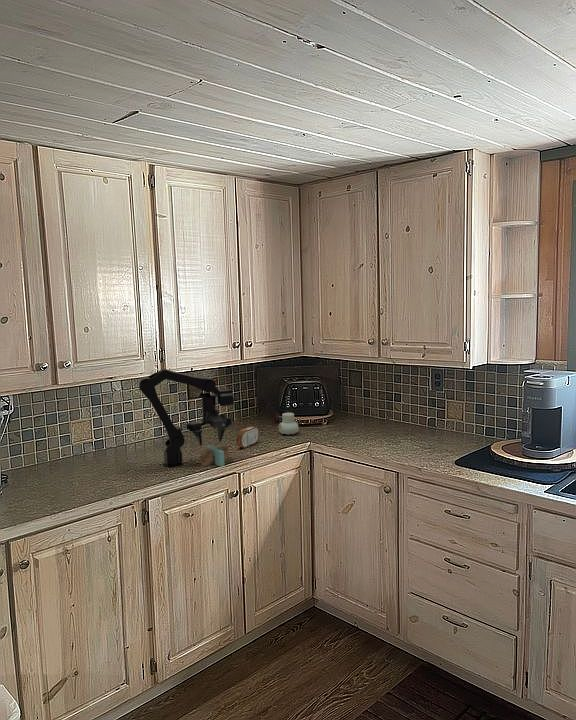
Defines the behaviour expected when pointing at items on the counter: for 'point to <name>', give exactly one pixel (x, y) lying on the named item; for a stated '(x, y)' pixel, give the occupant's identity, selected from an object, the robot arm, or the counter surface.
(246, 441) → the tin
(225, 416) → the robot arm
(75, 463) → the counter surface
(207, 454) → the notched walnut block
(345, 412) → the counter surface
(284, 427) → the air freshener
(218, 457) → the notched teal slat
